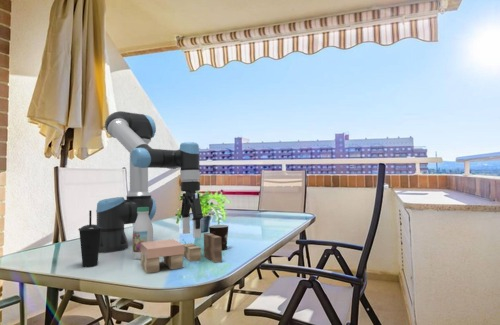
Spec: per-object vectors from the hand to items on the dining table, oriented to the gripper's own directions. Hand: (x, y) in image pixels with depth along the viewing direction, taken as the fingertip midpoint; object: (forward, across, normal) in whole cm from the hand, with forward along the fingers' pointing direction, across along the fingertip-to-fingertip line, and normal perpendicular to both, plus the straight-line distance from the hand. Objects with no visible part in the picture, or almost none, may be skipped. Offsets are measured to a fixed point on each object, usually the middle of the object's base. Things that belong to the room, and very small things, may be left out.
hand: (191, 235), depth 122 cm
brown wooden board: (+9, -6, -6) cm, 12 cm away
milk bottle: (+9, +12, +16) cm, 22 cm away
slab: (+4, -7, +13) cm, 15 cm away
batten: (+9, 0, 0) cm, 9 cm away
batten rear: (+9, -6, +17) cm, 20 cm away
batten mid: (+9, -6, +9) cm, 14 cm away
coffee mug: (+9, +8, -14) cm, 18 cm away
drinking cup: (+8, +10, +35) cm, 38 cm away
